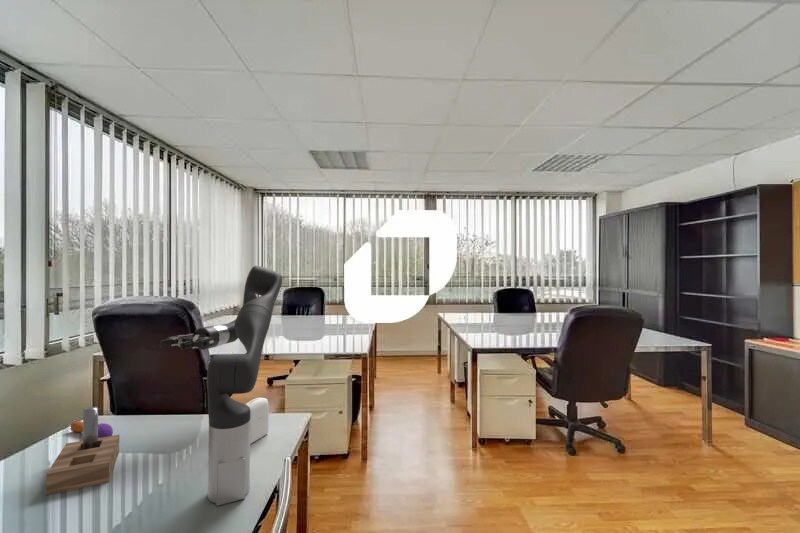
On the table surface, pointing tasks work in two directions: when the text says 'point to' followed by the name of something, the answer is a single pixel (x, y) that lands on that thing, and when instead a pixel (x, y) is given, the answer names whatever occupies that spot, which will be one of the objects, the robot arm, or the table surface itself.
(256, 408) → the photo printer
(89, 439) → the pin
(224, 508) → the table surface
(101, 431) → the maraca
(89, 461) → the block
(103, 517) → the table surface
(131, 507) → the table surface
